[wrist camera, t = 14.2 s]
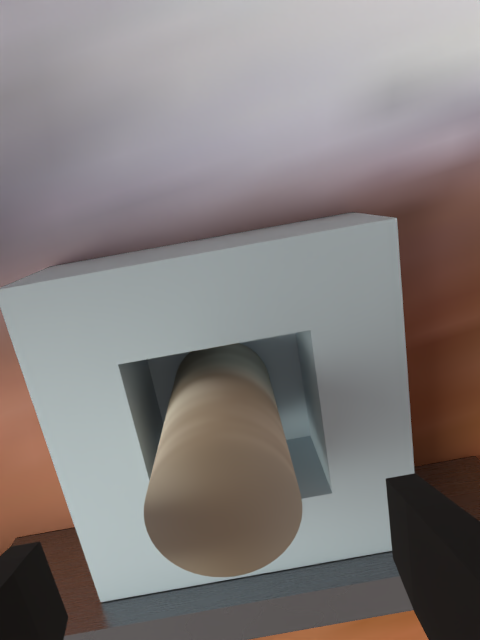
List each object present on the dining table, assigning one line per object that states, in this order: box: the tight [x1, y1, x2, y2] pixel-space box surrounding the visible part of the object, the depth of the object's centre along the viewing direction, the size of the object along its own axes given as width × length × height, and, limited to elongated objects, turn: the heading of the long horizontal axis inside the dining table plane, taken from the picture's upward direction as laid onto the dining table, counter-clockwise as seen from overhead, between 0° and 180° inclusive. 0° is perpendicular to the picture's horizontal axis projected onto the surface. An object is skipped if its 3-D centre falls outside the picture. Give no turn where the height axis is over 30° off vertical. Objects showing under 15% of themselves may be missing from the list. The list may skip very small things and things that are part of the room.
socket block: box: [0, 212, 415, 602], centre depth 15 cm, size 11×11×4 cm
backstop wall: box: [11, 456, 480, 640], centre depth 16 cm, size 20×2×5 cm, turn 100°
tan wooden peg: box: [144, 343, 302, 577], centre depth 13 cm, size 4×4×7 cm
